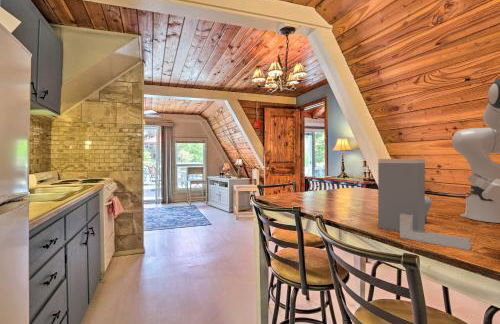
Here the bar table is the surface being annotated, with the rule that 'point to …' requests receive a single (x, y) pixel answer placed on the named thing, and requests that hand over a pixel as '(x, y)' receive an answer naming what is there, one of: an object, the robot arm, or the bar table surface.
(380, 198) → the stand
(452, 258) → the bar table surface
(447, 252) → the bar table surface
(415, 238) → the block
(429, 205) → the lightbulb
